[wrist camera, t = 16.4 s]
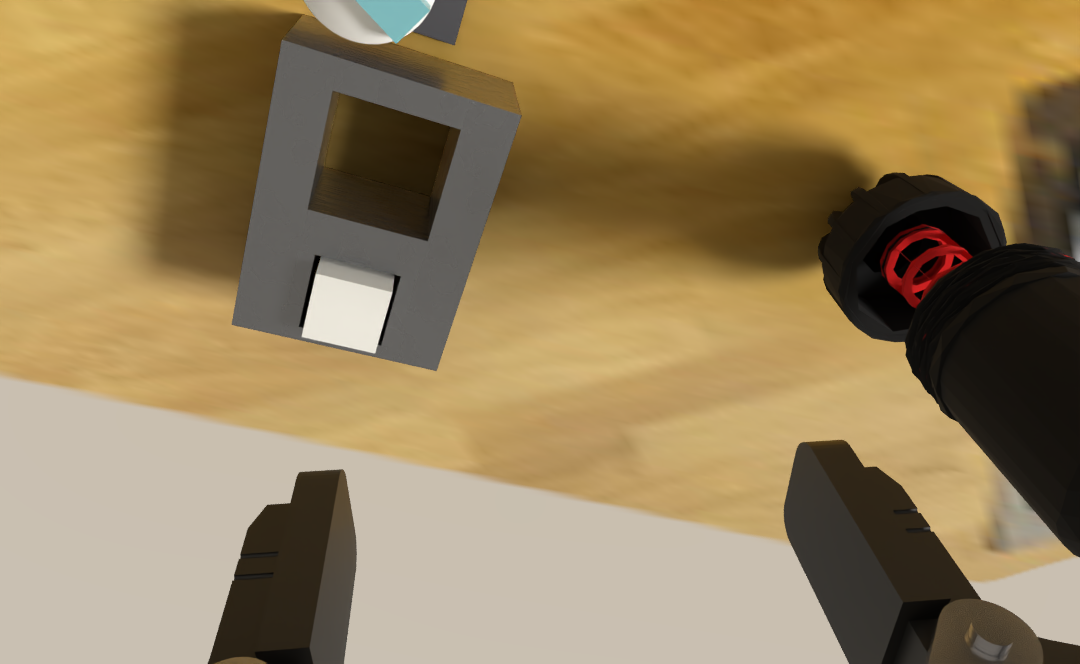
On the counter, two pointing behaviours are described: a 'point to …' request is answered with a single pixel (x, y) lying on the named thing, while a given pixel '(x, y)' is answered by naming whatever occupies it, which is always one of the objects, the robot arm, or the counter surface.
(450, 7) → the mat
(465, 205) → the housing
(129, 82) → the counter surface
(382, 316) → the off-white cube
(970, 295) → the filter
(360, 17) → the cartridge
